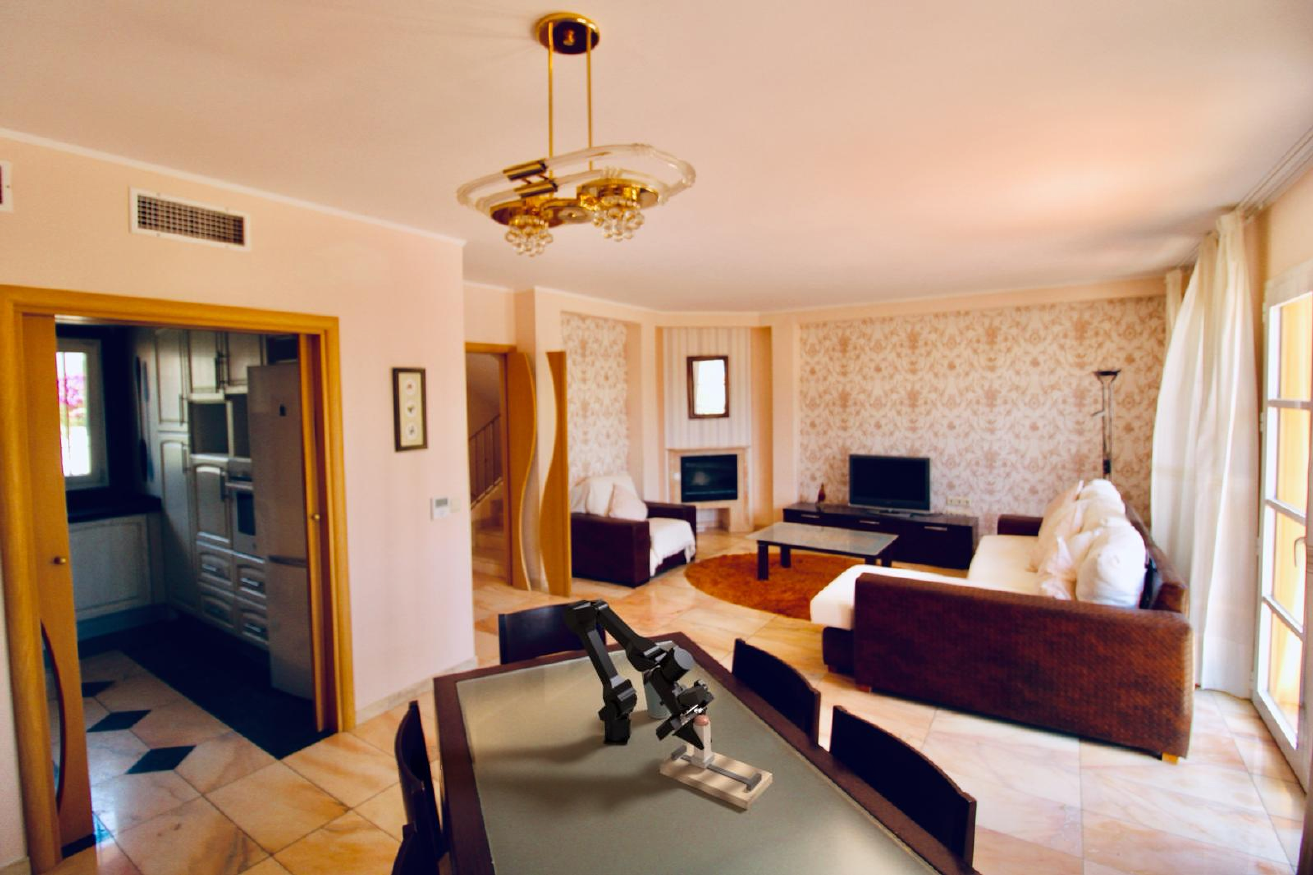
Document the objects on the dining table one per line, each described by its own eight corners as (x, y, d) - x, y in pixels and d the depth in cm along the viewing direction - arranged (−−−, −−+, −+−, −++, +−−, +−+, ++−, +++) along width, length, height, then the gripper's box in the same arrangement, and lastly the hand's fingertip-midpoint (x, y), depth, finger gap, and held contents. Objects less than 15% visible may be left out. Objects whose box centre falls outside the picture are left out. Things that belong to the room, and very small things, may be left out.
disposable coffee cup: (636, 719, 177) (634, 668, 176) (650, 701, 187) (648, 653, 186) (670, 725, 173) (669, 673, 172) (683, 707, 183) (682, 657, 182)
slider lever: (690, 763, 150) (689, 720, 149) (700, 754, 153) (699, 712, 153) (704, 769, 147) (703, 725, 147) (714, 760, 151) (713, 717, 150)
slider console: (660, 773, 151) (659, 759, 151) (687, 749, 160) (687, 737, 160) (747, 809, 136) (747, 794, 136) (772, 782, 146) (771, 768, 146)
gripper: (664, 688, 144) (705, 748, 138) (707, 659, 159) (746, 713, 153) (638, 711, 149) (677, 771, 143) (683, 682, 164) (719, 734, 158)
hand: (707, 746), depth 149 cm, fingers closed on slider lever, 3 cm apart
